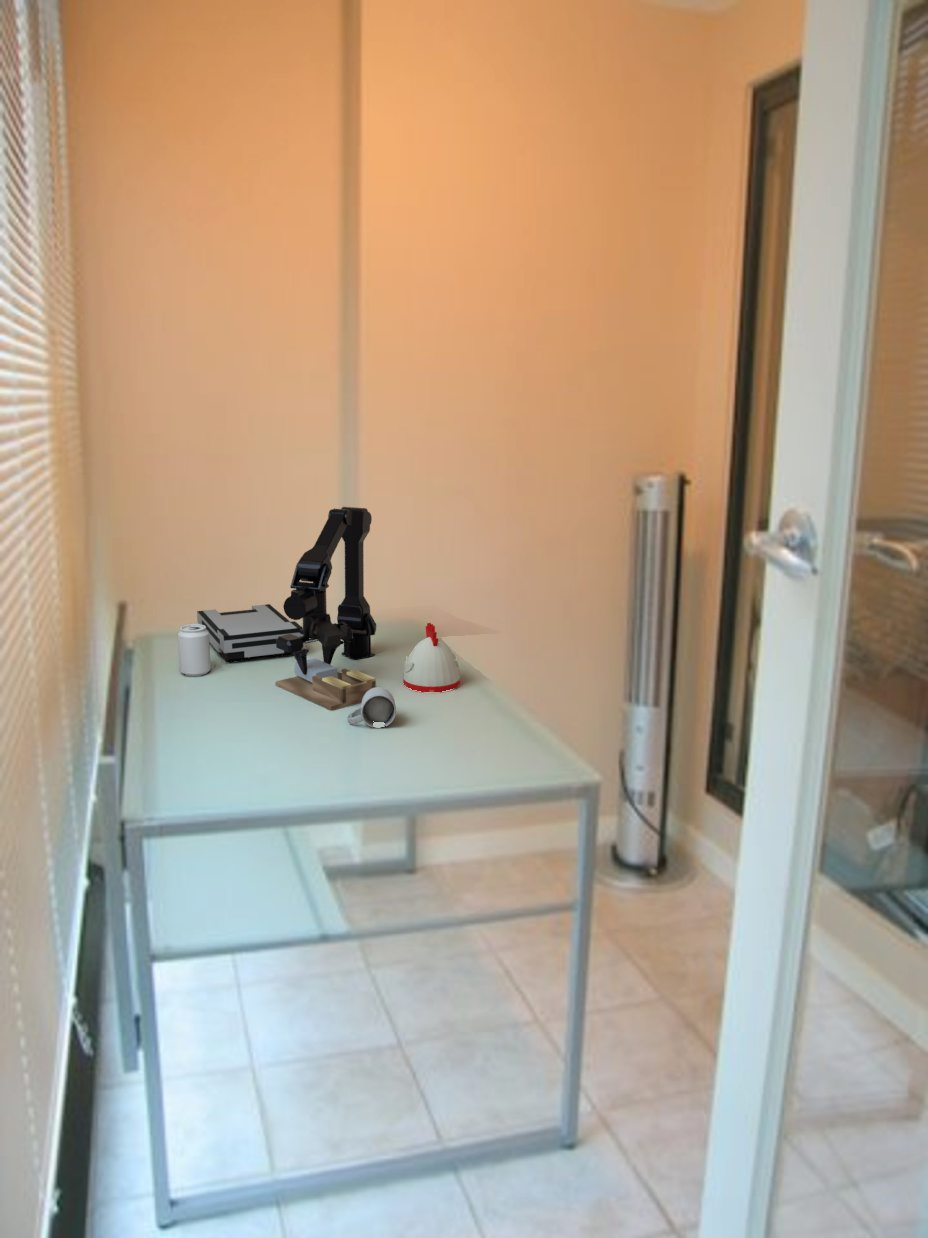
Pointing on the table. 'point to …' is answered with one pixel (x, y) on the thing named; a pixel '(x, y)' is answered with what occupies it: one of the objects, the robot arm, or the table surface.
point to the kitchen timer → (431, 665)
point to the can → (194, 650)
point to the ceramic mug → (375, 708)
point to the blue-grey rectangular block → (316, 669)
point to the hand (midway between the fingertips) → (315, 671)
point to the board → (331, 688)
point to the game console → (247, 632)
